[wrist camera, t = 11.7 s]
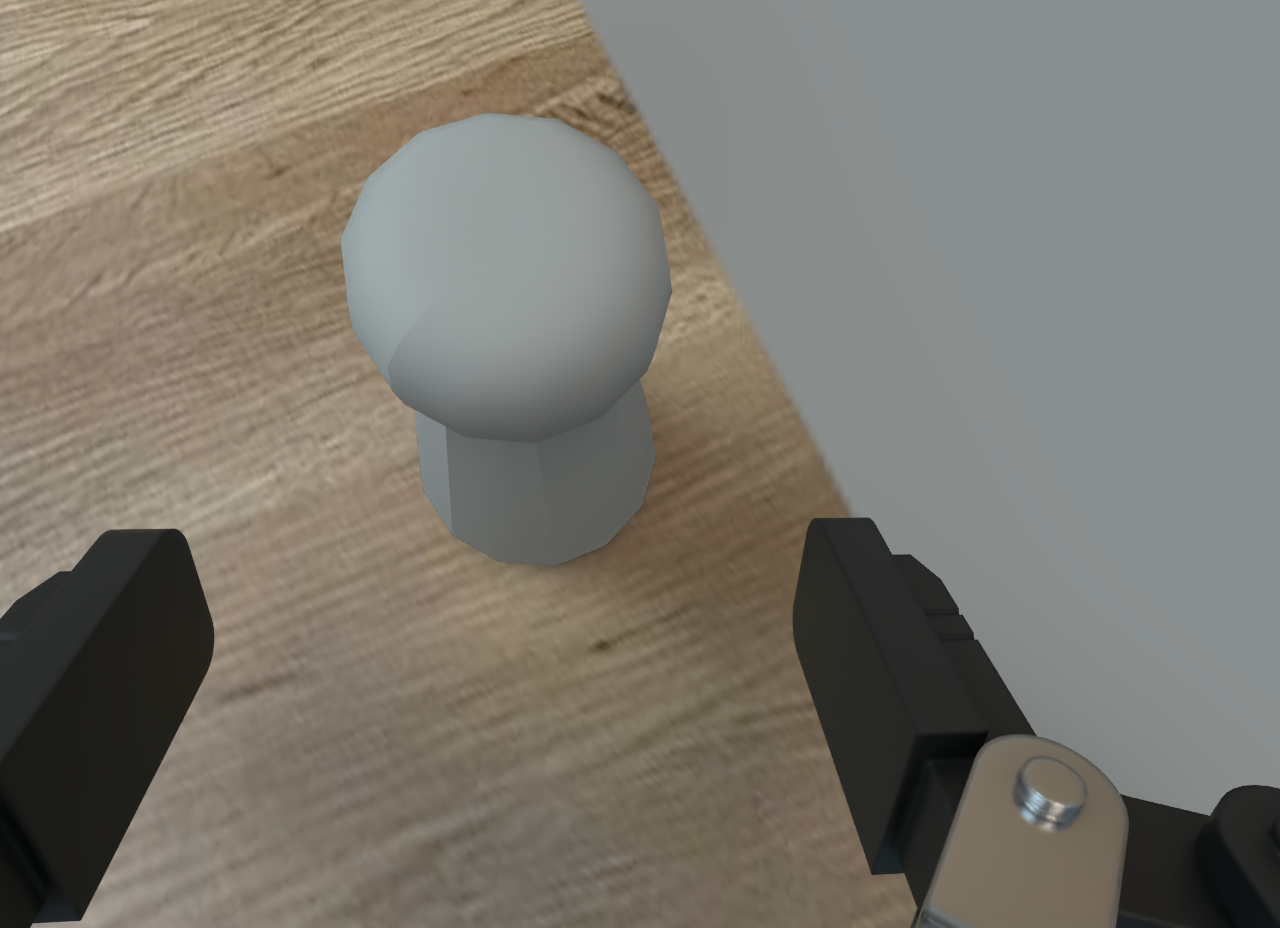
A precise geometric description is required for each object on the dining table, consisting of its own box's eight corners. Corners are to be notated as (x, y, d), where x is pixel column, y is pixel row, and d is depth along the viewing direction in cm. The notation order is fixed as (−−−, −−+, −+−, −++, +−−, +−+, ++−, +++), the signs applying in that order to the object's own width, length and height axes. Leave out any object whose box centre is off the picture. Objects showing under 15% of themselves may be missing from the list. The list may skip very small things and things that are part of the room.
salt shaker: (424, 384, 23) (239, 40, 10) (626, 358, 23) (692, 5, 11) (448, 593, 21) (273, 502, 9) (661, 559, 22) (783, 428, 9)
